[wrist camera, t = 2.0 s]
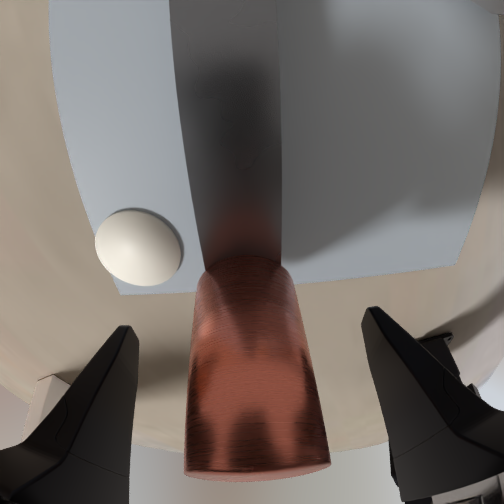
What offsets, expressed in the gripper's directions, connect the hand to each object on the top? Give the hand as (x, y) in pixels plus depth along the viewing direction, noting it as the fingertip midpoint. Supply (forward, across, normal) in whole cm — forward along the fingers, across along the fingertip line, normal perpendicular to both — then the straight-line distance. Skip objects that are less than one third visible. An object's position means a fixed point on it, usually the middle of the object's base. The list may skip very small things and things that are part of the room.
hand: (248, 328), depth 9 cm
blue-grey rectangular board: (+5, -3, -10) cm, 12 cm away
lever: (+3, 0, -9) cm, 10 cm away
